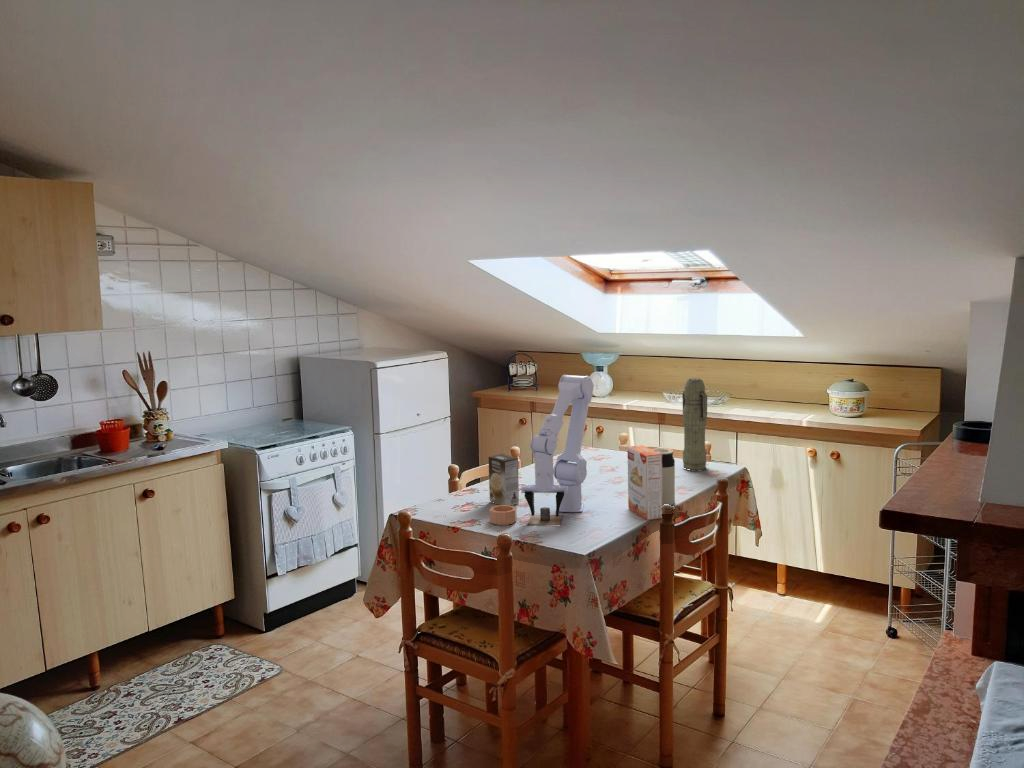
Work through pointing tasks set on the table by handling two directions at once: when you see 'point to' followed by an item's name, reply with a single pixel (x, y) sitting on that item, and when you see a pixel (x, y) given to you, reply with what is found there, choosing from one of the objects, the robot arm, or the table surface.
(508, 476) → the coffee box
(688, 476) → the table surface
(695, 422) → the thermos
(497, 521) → the terracotta bowl
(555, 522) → the walnut lid
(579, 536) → the table surface
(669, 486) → the travel mug
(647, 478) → the cracker box
